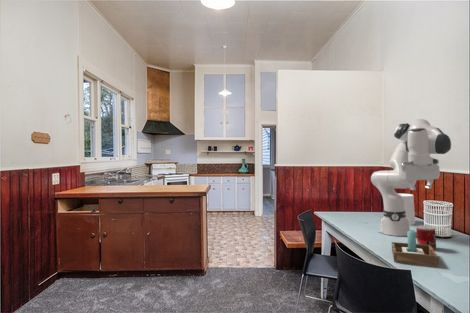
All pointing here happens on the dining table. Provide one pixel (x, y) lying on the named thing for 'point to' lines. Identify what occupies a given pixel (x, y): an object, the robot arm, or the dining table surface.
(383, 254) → the dining table surface
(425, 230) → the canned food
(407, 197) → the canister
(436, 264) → the box
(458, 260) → the dining table surface
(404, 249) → the plate
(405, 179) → the robot arm
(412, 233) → the peg
